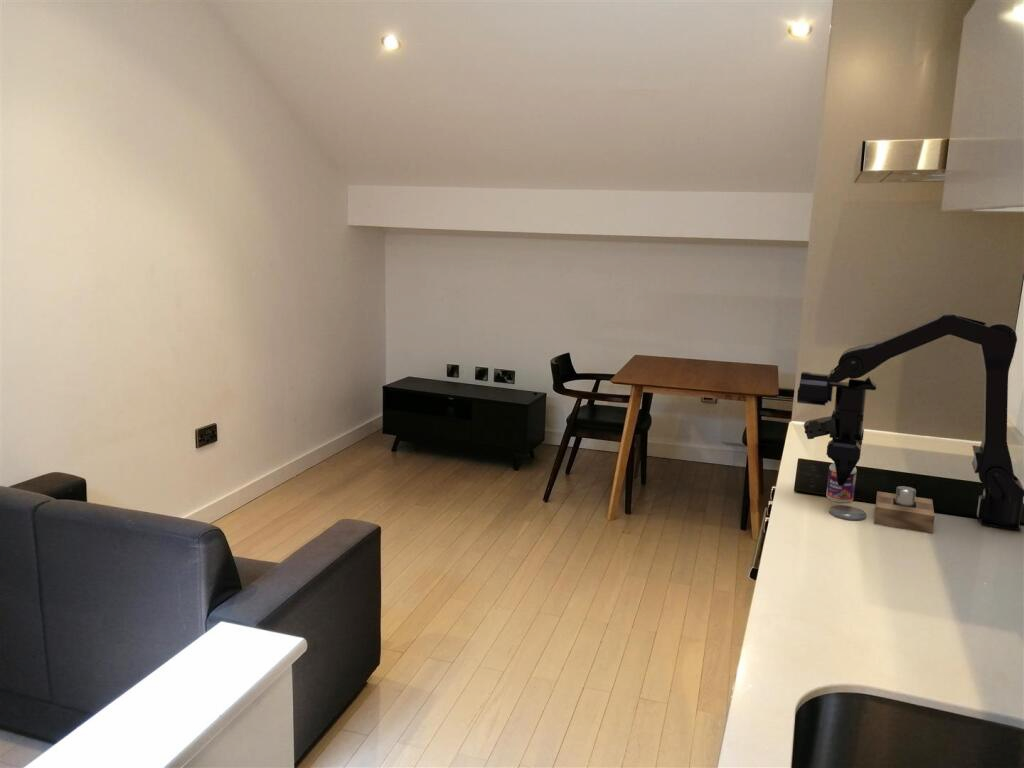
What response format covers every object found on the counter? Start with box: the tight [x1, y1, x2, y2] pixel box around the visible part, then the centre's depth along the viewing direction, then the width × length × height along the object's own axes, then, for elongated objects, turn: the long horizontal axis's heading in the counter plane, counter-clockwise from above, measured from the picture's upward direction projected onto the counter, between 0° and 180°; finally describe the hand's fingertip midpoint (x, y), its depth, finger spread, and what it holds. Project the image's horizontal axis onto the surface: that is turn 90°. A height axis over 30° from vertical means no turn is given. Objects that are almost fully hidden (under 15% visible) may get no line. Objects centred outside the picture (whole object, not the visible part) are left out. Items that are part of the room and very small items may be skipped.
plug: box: [895, 485, 917, 508], centre depth 146 cm, size 3×3×6 cm
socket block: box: [873, 490, 935, 534], centre depth 147 cm, size 10×10×4 cm
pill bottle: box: [826, 461, 858, 503], centre depth 158 cm, size 5×5×10 cm
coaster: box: [828, 504, 867, 522], centre depth 150 cm, size 7×7×1 cm
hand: (842, 478), depth 158 cm, fingers open, 9 cm apart
